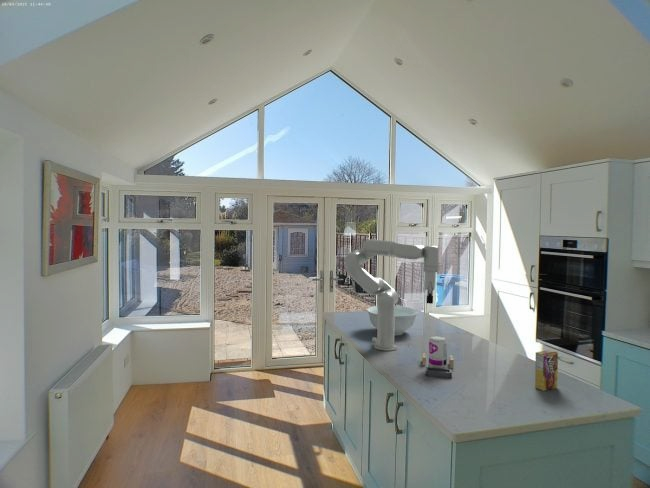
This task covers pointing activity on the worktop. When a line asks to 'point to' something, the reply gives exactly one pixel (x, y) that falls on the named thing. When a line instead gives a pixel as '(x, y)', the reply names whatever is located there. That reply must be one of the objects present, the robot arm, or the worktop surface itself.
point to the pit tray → (438, 372)
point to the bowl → (396, 318)
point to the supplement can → (438, 352)
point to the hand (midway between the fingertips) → (429, 303)
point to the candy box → (546, 370)
